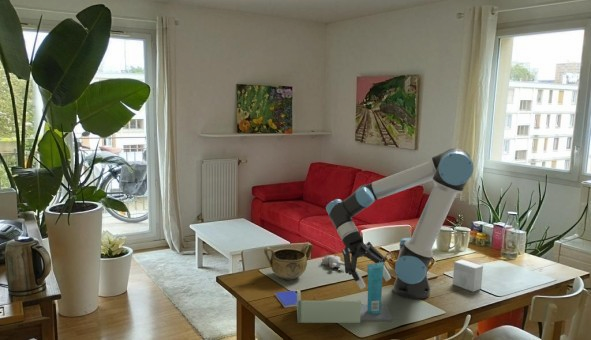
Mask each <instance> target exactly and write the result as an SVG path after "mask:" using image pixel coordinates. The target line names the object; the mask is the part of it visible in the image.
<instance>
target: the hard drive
mask: <svg viewBox="0 0 591 340" xmlns="http://www.w3.org/2000/svg"><path fill="white" fill-rule="evenodd" d="M275 297H276V298H277V300H278V301H279V302H280V303H281V304H282V306H283V307H284V309H286V308H292V307H297V292H295V290H288V291H279V292H276V293H275ZM301 301H303V300H302V299H301Z"/></svg>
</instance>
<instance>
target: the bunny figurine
mask: <svg viewBox="0 0 591 340" xmlns="http://www.w3.org/2000/svg"><path fill="white" fill-rule="evenodd" d="M321 263H322V264H323V265H326V266H328V267H329V268H332V269H334V268H337V269H338V268H339V267H341V265H342V266H344V267H345V264H344V261H342V260H341V257H340V256H338V255H336V256H335V255H334V254H330V255H325V256H324V257H323V258H322V259H321Z"/></svg>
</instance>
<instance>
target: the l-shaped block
mask: <svg viewBox="0 0 591 340" xmlns="http://www.w3.org/2000/svg"><path fill="white" fill-rule="evenodd" d="M296 294H297V306H296V314H297V315H296V316H297V319H296V320H297V324H299V323H300V324H302V323H303V324H304V323H305V324H309V323H310V324H314V323H315V324H317V323H318V324H323V323H324V324H326V323H327V324H328V323H332V324H333V323H335V324H336V323H338V324H339V323H340V324H346V323H348V324H352V323H353V324H357V323H358V324H359V323H361V321H360V313H361V305H362V303H361V302H362V301H361V300H302V294H301V289H298V288H297V289H296ZM301 300H302V301H301Z"/></svg>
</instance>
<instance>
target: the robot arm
mask: <svg viewBox="0 0 591 340" xmlns="http://www.w3.org/2000/svg"><path fill="white" fill-rule="evenodd" d="M473 173H474V162H473V160H472V158H471V156H470V154H469V153H468V152H467V151H466V150H463V149H462V148H457V147H454V148H448V149H447V150H445V151H444V152H442V153H439V154H437V155H435V156H433V157H430V159H429V160H428V161H426V162H424V163H421V164H418V165H414V166H413V167H410V168H408V169H404V170H402V171H400V172H397V173H394V174H391V175H389V176H386V177H383V178H381V179H379V180H375V181H372V182H371V183H368V184H362V185H360V186H359V187H358V188H356V190H355V191H354V192H353V193H352V194H350V195H349V196H348V197H347V198H345V199H343V200H342V199H339V198H336V199H334V200H332V201H329V202H328V204H326V207H325V210H326V213H327V214H328V217H329V219H330V221H331V222H332V225H333V226H334V228H335V230H336V232H337V234H338V236H339V238H340V239H341V242H342V243H343V246H344V248H343V249H342V251H341V253H342V255H343V262H344V264H345V266H344V271H345V274H348V275H349V276H352V278H353V280H354V281H355V282H356V283H357V286H358V287H359V289H360V290H361V291H362V290H364V289H365V288H366V287H367V285H366V283H365V282H364V279H363V277H362V275H361V274H360V272H359V270H357V265H358V263H357V262H358V259H359V258H362V257H364V258H367V259H369V260H371V261H372V262H373V263H380V262H384V267H383V279H384V280H385V282H388V281H390V279H392V276H391V275H390V273H389V271H388V268H387V266H386V264H385V262H386V261H387V258H386V256H384V255H383V254H382V253H381V252H380V251H379V250H378V249H376V248H375V247H374V246H373V244H372V243H371V242H370V241H368V242H367V243H364V241H363V240H364V239H363V236H362V234H361V233H360V231H359V230H358V229H359V228H357V226H356V224H355V222H354V220H353V218H354V217H355V216H356V215H357V214H359V213H361V212H362V211H364V210H365V209H367V208H368V207H370V206H371V205H372V204H373V203H374V202H375V201H378V200H380V199H383V198H385V197H389V196H391V195H395V194H397V193H400V192H402V191H406V190H407V189H411V188H414V187H417V186H420V185H423V184H425V183H426V184H427V182H431V181H432V182H433V184H434V185H433V187H432V190H431V191H430V194H429V196H428V199H427V201H426V203H425V204H424V205H425V206H424V208H423V209H422V212H421V214H420V217H419V218H418V221H417V224H416V226H415V229H414V231H413V233H412V235H411V237H404V238H401V239H400V240H399V252H398V255H397V258H396V259H397V260H396V261H395V264H394V269H395V270H394V272H395V275H396V277H395V281H394V283H393V289H392V290H393V292H394V293H395V294H396V295H397V296H400V297H402V298H405V299H409V300H410V299H412V300H422V299H425V298H428V297H429V296H430V295H431V286H430V282H429V279H428V267H429V266H430V263H431V261H432V259H433V256H434V253H433V251H432V248H433V246H434V244H435V242H436V240H437V238H438V236H439V233H440V231H441V229H442V227H443V224H444V222H445V221H446V218H447V216H448V213H449V212H450V209H451V207H452V205H453V203H454V201H455V199H456V196H457V194H460V193H462V192H463V191H464V189H465V187H466V184H467V183H468V181H469V180H470V179H471V178H472V176H473Z"/></svg>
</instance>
